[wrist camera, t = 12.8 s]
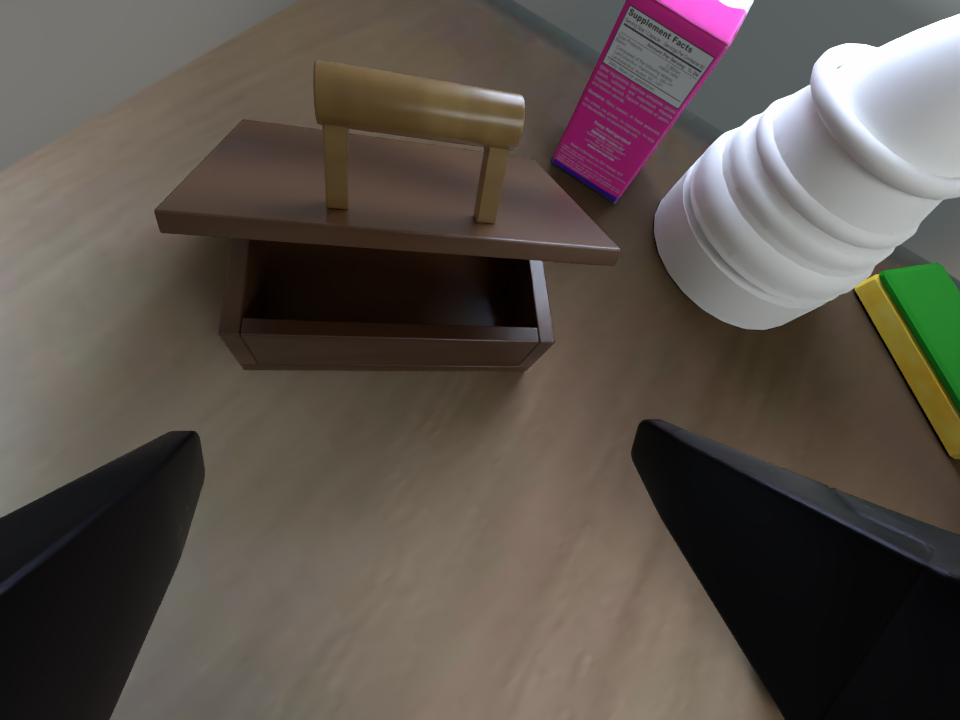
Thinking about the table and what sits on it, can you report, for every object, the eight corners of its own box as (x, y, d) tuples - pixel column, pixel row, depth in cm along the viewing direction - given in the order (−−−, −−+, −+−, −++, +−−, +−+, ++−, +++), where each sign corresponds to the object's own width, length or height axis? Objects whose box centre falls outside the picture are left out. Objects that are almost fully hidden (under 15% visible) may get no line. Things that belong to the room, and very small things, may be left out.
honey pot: (690, 155, 36) (963, -159, 20) (820, 250, 36) (1207, 10, 19) (625, 253, 30) (929, -73, 14) (778, 365, 30) (1271, 166, 14)
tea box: (525, 372, 25) (555, 342, 21) (243, 370, 22) (217, 334, 18) (507, 218, 29) (529, 170, 25) (263, 195, 25) (245, 133, 21)
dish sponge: (949, 460, 31) (994, 455, 28) (850, 286, 35) (883, 269, 33) (1008, 439, 33) (1054, 432, 31) (908, 277, 37) (942, 261, 35)
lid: (615, 267, 16) (670, 127, 13) (158, 233, 13) (100, 31, 10) (530, 171, 25) (552, 73, 22) (244, 134, 21) (227, 12, 18)
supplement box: (577, 119, 34) (670, -62, 24) (641, 161, 34) (763, -2, 24) (545, 161, 32) (634, -20, 21) (615, 207, 32) (737, 47, 21)
